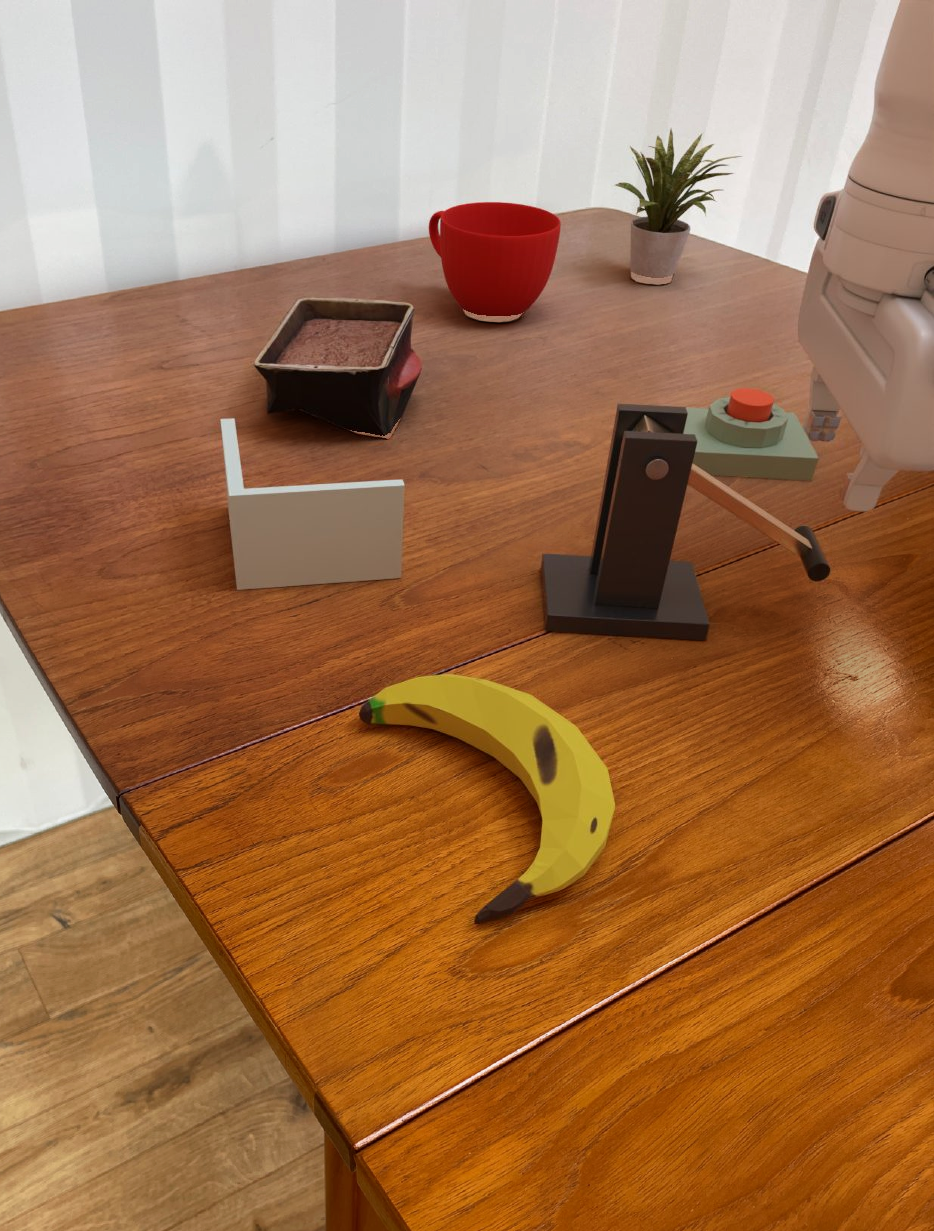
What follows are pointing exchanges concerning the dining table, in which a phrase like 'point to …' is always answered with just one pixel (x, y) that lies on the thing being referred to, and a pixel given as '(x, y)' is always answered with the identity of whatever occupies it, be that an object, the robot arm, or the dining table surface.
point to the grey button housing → (750, 444)
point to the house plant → (666, 207)
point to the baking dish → (343, 362)
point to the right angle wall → (311, 528)
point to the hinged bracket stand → (633, 541)
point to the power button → (750, 405)
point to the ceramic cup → (495, 254)
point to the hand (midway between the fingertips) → (835, 469)
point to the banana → (517, 769)
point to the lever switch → (755, 515)
